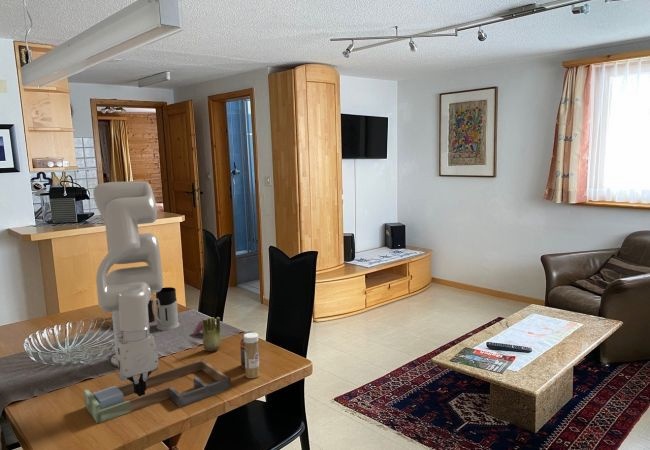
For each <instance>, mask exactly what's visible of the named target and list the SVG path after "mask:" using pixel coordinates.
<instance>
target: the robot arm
mask: <svg viewBox="0 0 650 450" xmlns="http://www.w3.org/2000/svg"><path fill="white" fill-rule="evenodd" d="M92 192H93V200H94V203H95V206H96V207H97V209H98V212H99V214H100V216H101V217H102V220H103V222H104V227H105V233H106V234H105V235H106V236H105V237H106V244H107V245H106V246H107V254H106V255H105V256H104V258H103V259H101V262H100V264H99V266H98V268H97V271H96V275H95V276H96V277H95V278H96V279H95V281H96V282H95V283H96V293H97V295H96V296H97V302H98V305H99V309H100V310H102V311H103V312H105V313H106V312H107V313H111V317H112V329H113V338H114V341H113V342H114V349H115V354H114V355H112V357H111V358H110V359H111V360H110V362H111V364H112V366H114V367H117V369H118V372H119V374H118V380H120V381H121V382H122V381H129V382H133V385H134V394H135V395H137V397H139V396H142V395H145V394H146V391H147V388H146V381H147V378H148V377H149V376H151V374H152V373H153V372H156V371H158V369H159V357H158V356H159V355H158V349H157V344H156V341H155V337H154V335H153V333H151V332H150V329H151V328H150V322H149V317H148V303H149V300H151V298H152V294H156V293H157V292H159V291H161V289H162V288H164V278H163V269H162V259H161V258H162V257H161V250H160V244H159V241H158V238H157V236H156V235H154V234H153V233H149V232H148V233H147V232H146V233H139V225H145V224H153V223H155V222H156V220H157V217H158V208H157V202H156V198H155V195H154V191H153V189H152V185H151V184H150V183H149V182H147V181H144V180H133V181H132V180H131V181H111V182H110V181H109V182H103V183H99V184H97V185H95V186H94V187H93V191H92ZM136 263H137V264H138V263H145V264H146V265H142V266H140V265H139V266H132V267H124V268H123V267H122V268H117V269H114V270H112V271H110V272H109V270H110V269H111V267H113V266H114V265H125V264H126V265H128V264H129V265H130V264H136Z"/></svg>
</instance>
